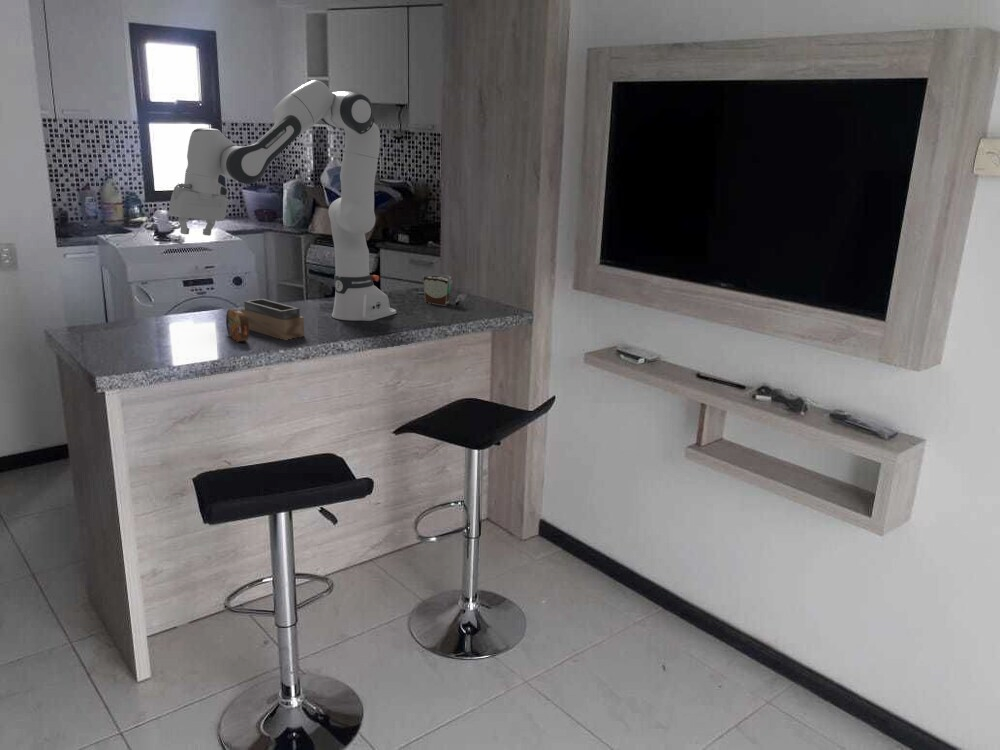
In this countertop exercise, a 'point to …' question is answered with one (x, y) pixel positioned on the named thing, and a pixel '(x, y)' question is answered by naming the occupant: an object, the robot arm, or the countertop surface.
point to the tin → (237, 325)
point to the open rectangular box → (274, 319)
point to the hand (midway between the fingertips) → (195, 234)
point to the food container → (437, 289)
